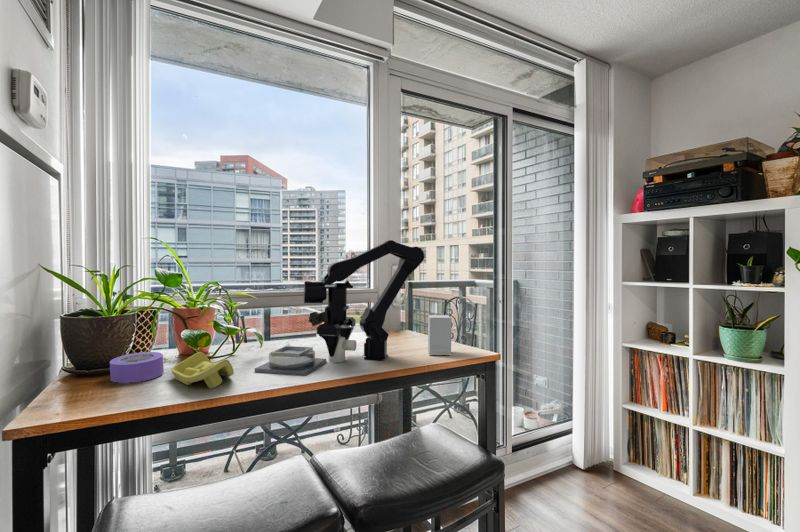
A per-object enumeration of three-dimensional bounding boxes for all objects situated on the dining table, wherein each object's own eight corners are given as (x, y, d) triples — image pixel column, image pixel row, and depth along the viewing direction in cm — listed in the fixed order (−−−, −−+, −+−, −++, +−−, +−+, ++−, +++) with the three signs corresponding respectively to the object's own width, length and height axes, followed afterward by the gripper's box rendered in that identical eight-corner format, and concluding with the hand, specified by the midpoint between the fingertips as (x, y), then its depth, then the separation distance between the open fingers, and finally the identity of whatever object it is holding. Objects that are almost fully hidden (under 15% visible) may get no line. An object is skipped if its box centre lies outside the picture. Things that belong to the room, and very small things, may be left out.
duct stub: (326, 362, 124) (326, 345, 124) (305, 375, 109) (305, 356, 109) (281, 359, 127) (281, 343, 127) (254, 372, 112) (254, 354, 112)
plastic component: (168, 369, 106) (204, 348, 112) (182, 392, 108) (217, 370, 114) (191, 380, 91) (231, 355, 98) (207, 407, 93) (245, 380, 99)
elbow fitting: (326, 362, 124) (326, 339, 124) (332, 358, 129) (332, 336, 129) (352, 363, 122) (352, 340, 122) (357, 359, 127) (357, 337, 127)
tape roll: (103, 386, 99) (103, 366, 99) (117, 372, 110) (117, 354, 110) (159, 380, 104) (158, 361, 103) (167, 367, 115) (166, 350, 114)
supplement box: (451, 356, 133) (451, 317, 133) (428, 356, 133) (429, 317, 133) (449, 351, 140) (449, 314, 140) (427, 351, 140) (427, 314, 140)
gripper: (324, 299, 136) (324, 345, 136) (299, 305, 118) (299, 358, 118) (356, 300, 134) (355, 347, 134) (336, 306, 116) (336, 361, 116)
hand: (337, 353), depth 126 cm, fingers open, 9 cm apart
